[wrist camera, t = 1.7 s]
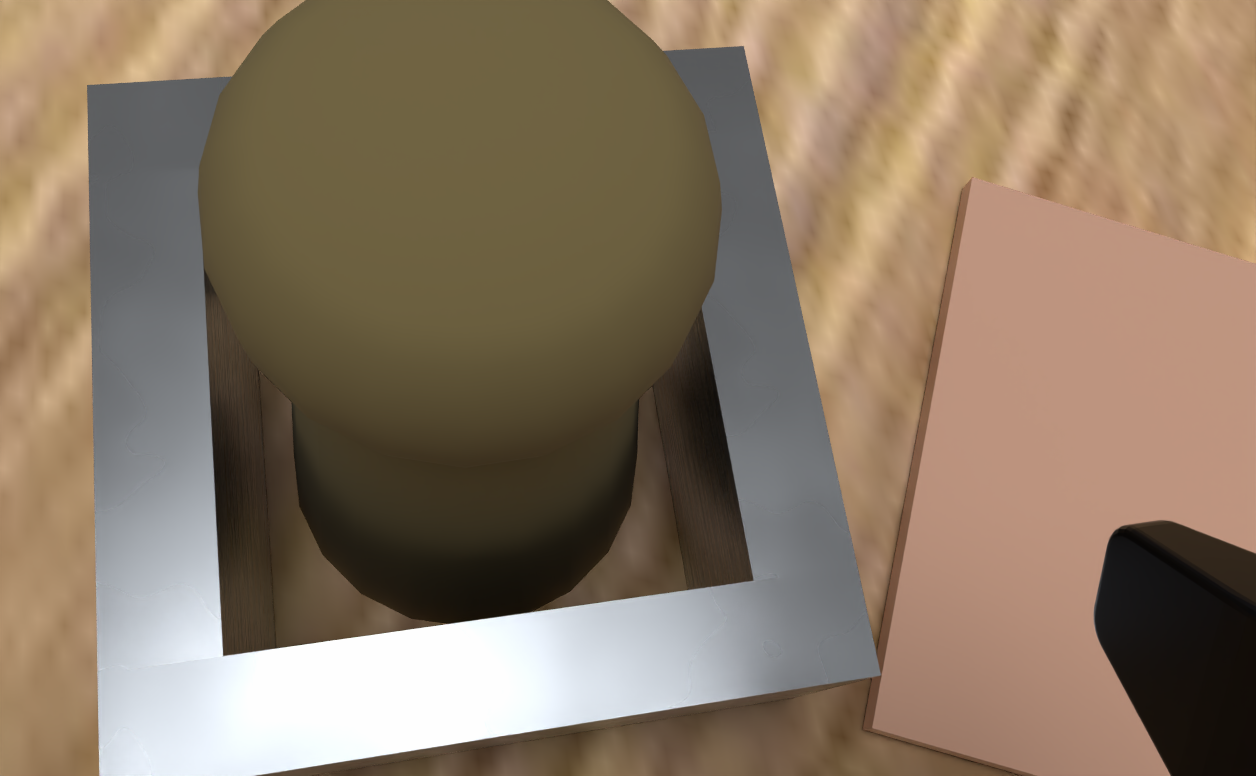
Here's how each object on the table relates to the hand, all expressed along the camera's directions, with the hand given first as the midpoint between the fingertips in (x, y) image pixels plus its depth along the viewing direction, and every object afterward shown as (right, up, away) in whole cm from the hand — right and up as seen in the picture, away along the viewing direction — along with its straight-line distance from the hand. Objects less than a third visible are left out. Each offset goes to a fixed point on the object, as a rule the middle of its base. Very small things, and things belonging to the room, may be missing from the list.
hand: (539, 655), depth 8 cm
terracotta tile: (+11, 0, +14) cm, 18 cm away
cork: (-2, +1, +12) cm, 13 cm away
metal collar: (-2, +1, +12) cm, 12 cm away
